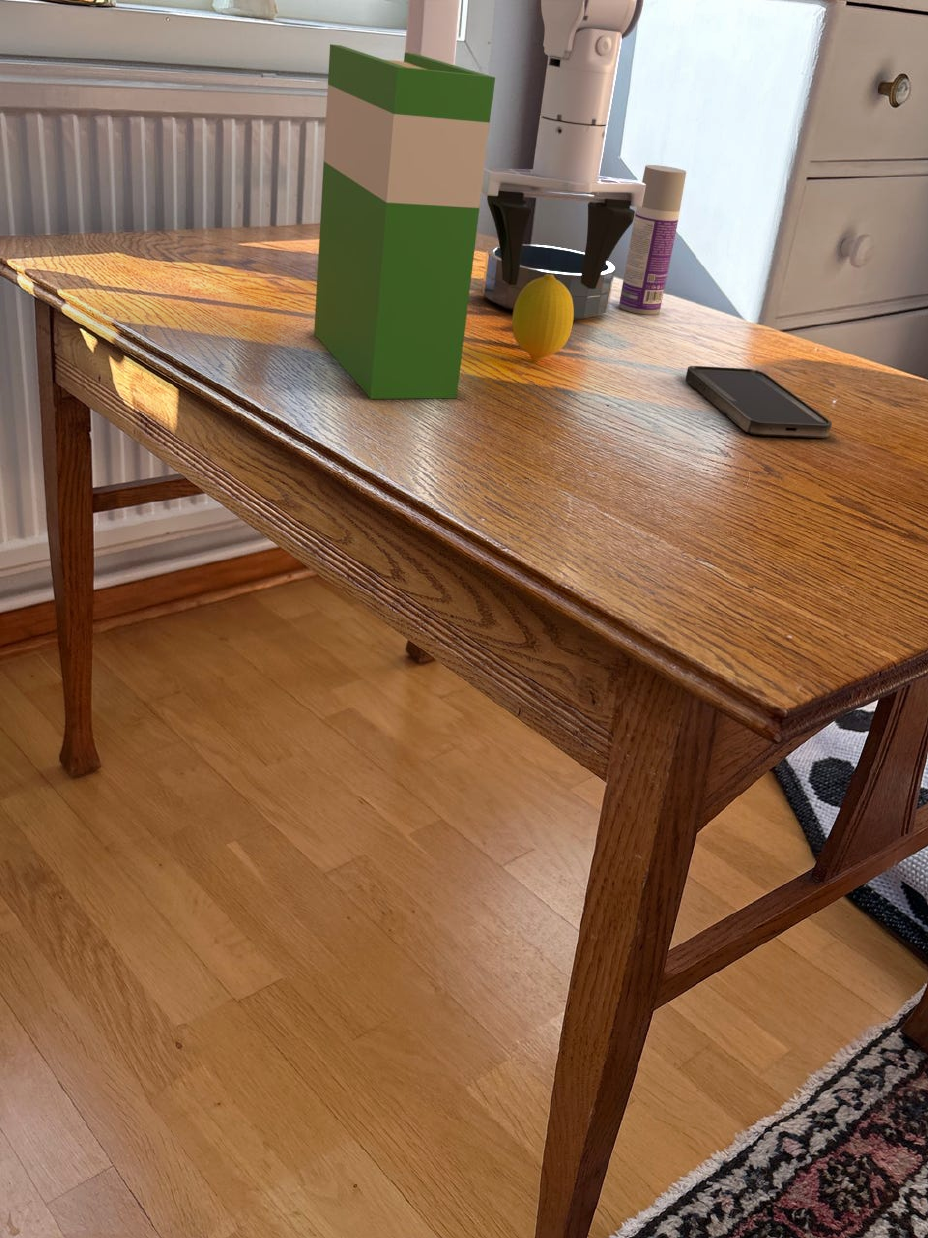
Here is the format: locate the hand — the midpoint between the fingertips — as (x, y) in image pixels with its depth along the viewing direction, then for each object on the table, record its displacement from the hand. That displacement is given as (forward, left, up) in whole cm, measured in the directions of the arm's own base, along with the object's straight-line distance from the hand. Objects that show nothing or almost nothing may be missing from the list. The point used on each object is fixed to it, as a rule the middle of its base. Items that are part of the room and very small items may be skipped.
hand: (549, 284), depth 102 cm
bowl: (-3, +22, -7) cm, 23 cm away
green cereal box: (-12, -9, -7) cm, 17 cm away
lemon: (0, 0, -7) cm, 7 cm away
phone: (+20, -2, -7) cm, 21 cm away
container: (+7, +28, -7) cm, 30 cm away
